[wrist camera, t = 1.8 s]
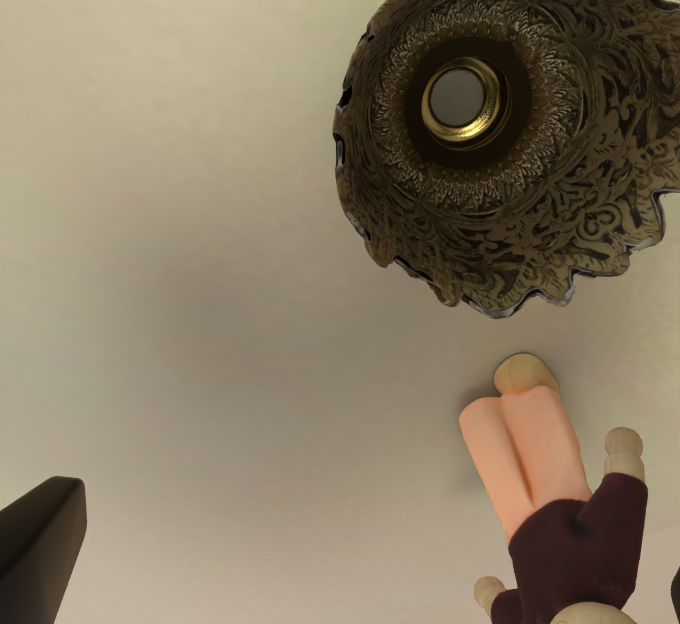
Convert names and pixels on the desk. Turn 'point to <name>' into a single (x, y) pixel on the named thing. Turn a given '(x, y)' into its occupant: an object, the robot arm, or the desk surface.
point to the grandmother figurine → (555, 504)
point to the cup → (512, 143)
